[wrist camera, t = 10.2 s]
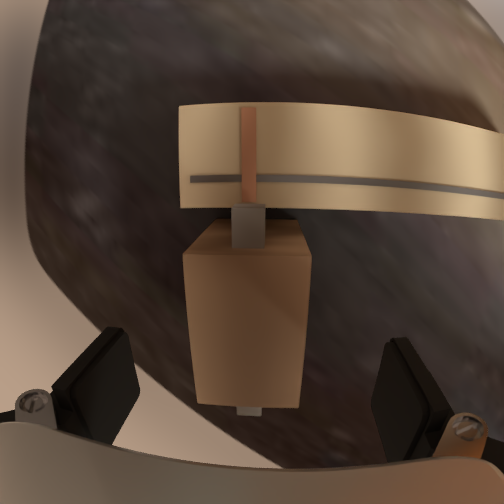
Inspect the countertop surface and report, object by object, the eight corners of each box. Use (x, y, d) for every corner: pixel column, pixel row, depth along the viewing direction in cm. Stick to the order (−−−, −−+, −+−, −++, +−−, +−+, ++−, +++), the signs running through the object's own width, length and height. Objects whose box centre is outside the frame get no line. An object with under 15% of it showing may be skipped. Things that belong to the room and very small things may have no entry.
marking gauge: (297, 192, 17) (313, 213, 10) (290, 350, 20) (295, 429, 13) (215, 191, 17) (180, 212, 11) (221, 348, 20) (200, 424, 14)
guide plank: (508, 146, 15) (547, 148, 11) (504, 211, 16) (542, 224, 12) (199, 117, 16) (178, 105, 12) (200, 197, 17) (179, 208, 14)
